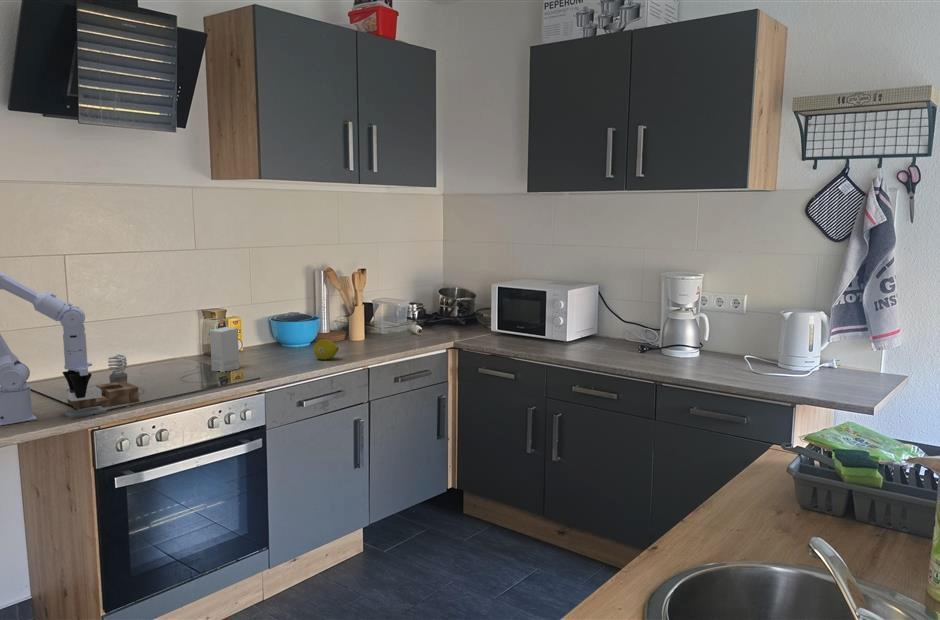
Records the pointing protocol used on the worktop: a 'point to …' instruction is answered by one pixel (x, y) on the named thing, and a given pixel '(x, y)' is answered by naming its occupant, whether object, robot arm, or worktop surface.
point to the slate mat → (84, 412)
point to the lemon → (325, 349)
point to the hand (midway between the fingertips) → (78, 396)
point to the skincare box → (224, 349)
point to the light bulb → (118, 368)
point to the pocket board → (110, 396)
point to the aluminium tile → (90, 394)
